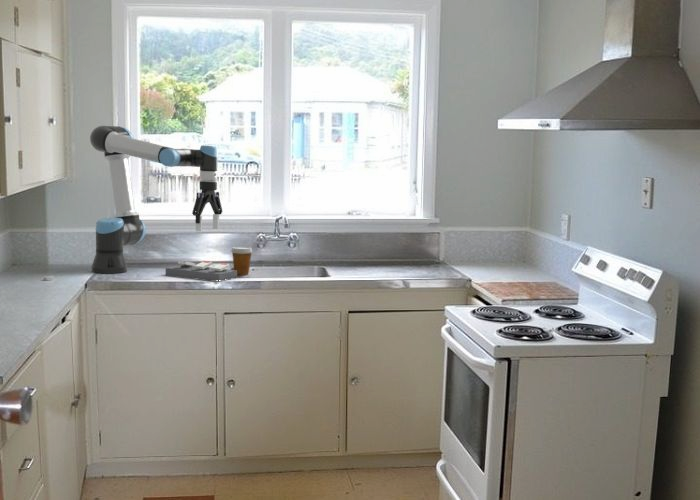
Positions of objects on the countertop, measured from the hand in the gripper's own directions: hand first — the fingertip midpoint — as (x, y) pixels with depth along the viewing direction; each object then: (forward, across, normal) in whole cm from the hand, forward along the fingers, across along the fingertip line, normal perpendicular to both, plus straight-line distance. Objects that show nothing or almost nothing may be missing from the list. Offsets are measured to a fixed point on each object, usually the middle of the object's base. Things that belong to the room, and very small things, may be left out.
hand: (207, 229), depth 372 cm
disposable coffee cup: (+20, +13, -10) cm, 26 cm away
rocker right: (+15, -2, -9) cm, 18 cm away
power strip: (+20, -4, 0) cm, 21 cm away
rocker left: (+16, -2, +9) cm, 18 cm away
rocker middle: (+15, -2, 0) cm, 16 cm away
